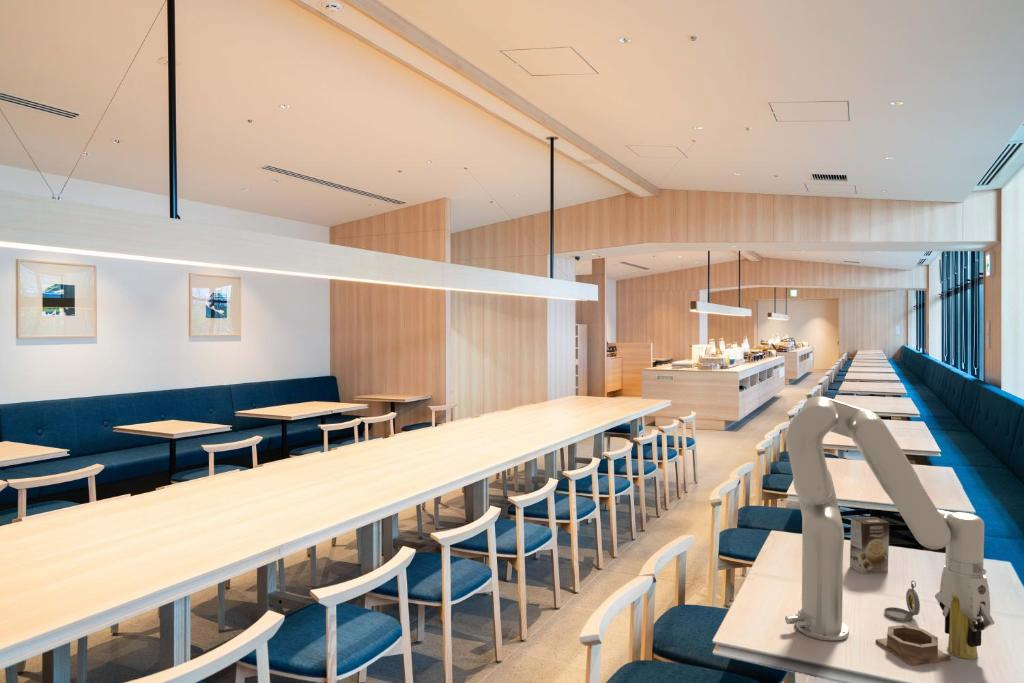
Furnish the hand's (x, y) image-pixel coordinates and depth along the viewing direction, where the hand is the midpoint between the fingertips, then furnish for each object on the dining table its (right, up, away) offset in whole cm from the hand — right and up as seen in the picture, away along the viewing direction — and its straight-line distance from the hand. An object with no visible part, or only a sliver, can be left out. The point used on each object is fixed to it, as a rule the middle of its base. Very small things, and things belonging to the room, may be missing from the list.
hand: (962, 638), depth 159 cm
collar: (-11, -4, +1) cm, 12 cm away
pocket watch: (-3, -3, +19) cm, 19 cm away
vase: (0, -4, 0) cm, 4 cm away
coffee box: (+5, -1, +51) cm, 52 cm away
